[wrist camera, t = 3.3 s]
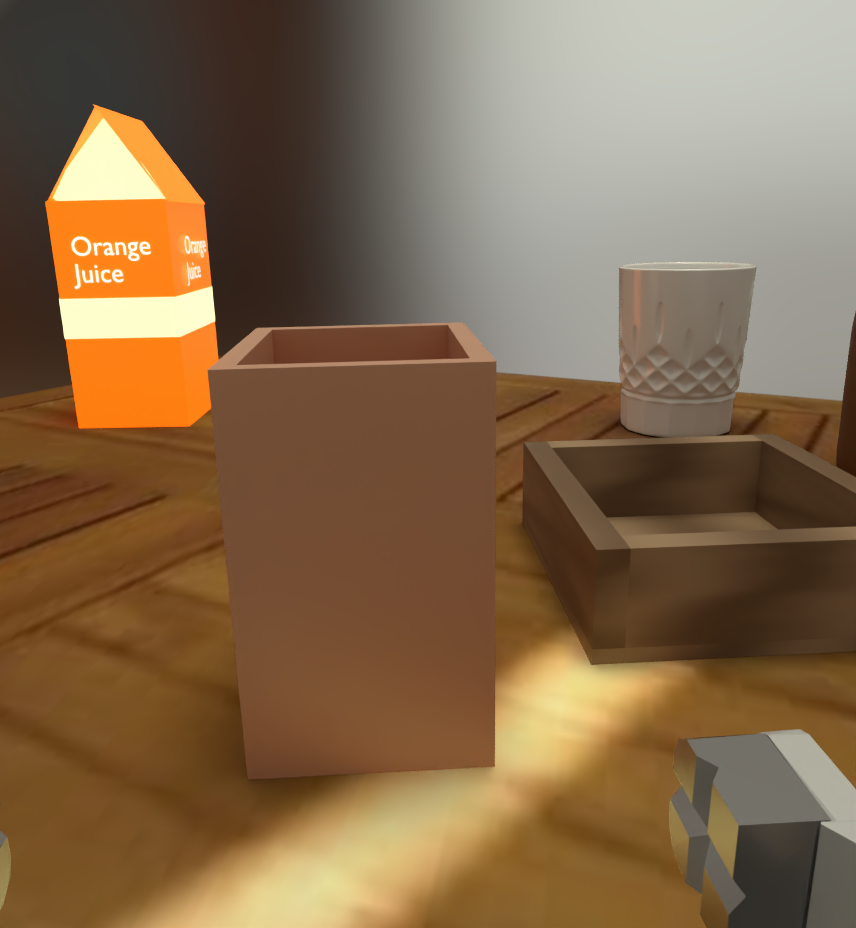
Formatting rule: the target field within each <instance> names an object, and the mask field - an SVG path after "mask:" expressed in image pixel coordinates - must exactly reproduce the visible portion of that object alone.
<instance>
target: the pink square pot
mask: <svg viewBox="0 0 856 928" xmlns="http://www.w3.org/2000/svg"><path fill="white" fill-rule="evenodd" d="M207 372H208V382H209V392H210V402H211V412H212V422H213V433H214V443H215V453H216V463H217V473H218V483H219V494H220V504H221V514H222V524H223V534H224V544H225V555H226V565H227V575H228V585H229V595H230V605H231V615H232V626H233V636H234V646H235V656H236V666H237V676H238V687H239V697H240V707H241V717H242V727H243V737H244V748H245V758H246V768H247V778H248V780H252V779H270V778H289V777H308V776H326V775H345V774H364V773H382V772H401V771H420V770H438V769H457V768H476V767H494V766H495V558H496V361H495V359H494V358H493V357H492V356H491V355H490V353H489V352H488V351H487V350H486V349H485V347H484V346H483V345H482V344H481V343H480V342H479V340H478V339H477V338H476V337H475V336H474V334H473V333H472V332H471V331H470V330H469V328H468V327H467V326H466V325H465V324H464V323H430V324H391V325H359V326H358V325H357V326H356V325H355V326H318V327H280V328H256V329H255V330H254V331H253V332H252V333H250V335H248V336H247V337H246V338H245V339H243V340H242V341H241V342H240V343H239V344H237V345H236V346H235V347H234V348H233V349H231V350H230V351H229V352H228V353H227V354H226V355H224V356H223V357H222V358H221V359H220V360H218V361H217V362H216V363H215V364H214V365H213V366H211V367H210V368H209V369H208V370H207Z"/></svg>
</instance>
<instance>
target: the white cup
mask: <svg viewBox="0 0 856 928" xmlns="http://www.w3.org/2000/svg"><path fill="white" fill-rule="evenodd" d="M755 273H756V266H755V265H752V264H741V263H719V262H717V263H715V262H674V263H673V262H667V263H640V264H629V265H622V266H620V267H619V353H620V366H619V373H620V379H621V385H622V387H623V388H622V389H621V424H622V425H623V426H624V427H625V428H627V429H628V430H631V431H634V432H637V433H640V434H644V435H650V436H657V437H664V438H671V437H701V436H719V435H722V434H724V433H727V432H729V430H730V427H731V423H732V416H733V408H734V401H735V396H736V393H735V391H736V389H737V388H738V386H739V382H740V372H741V368H742V364H743V356H744V347H745V343H746V340H747V331H748V323H749V316H750V309H751V302H752V295H753V287H754V280H755Z"/></svg>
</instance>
